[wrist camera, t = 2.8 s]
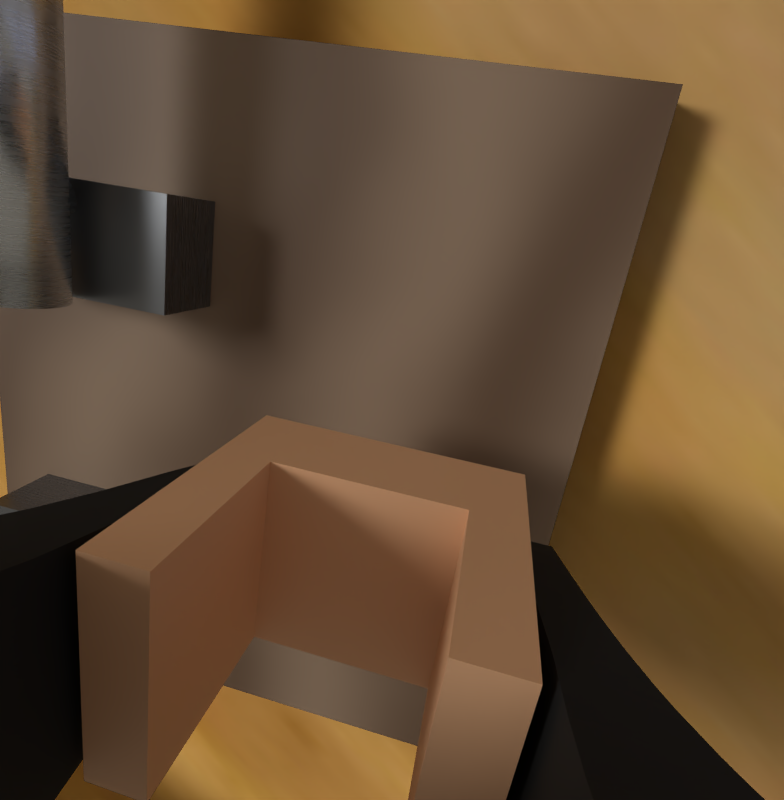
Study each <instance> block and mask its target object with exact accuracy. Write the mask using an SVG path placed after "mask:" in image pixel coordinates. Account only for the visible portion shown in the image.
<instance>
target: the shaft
mask: <svg viewBox="0 0 784 800" xmlns="http://www.w3.org/2000/svg"><path fill="white" fill-rule="evenodd" d="M72 303H73V298H72V267H71V236H70V205H69V174H68V143H67V111H66V80H65V49H64V18H63V0H0V307H3V308H16V309H51V308H61V307H66V306H69V305H71V304H72Z"/></svg>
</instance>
